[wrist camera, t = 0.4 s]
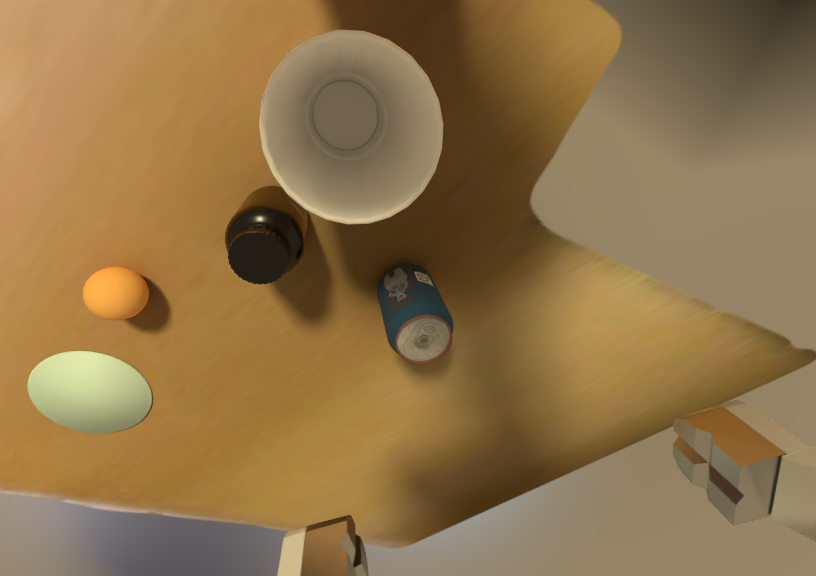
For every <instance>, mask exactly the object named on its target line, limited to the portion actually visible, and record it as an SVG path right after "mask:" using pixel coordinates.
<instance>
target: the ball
mask: <svg viewBox="0 0 816 576" xmlns="http://www.w3.org/2000/svg"><path fill="white" fill-rule="evenodd" d="M148 298H149V289H148V286H147V283H146V282H145V280H144V279H143V278H142V277H141V276H140V275H139V274H138V273H136V272H134V271H132V270H130V269H127V268H123V267H110V268H105V269H102V270H100V271H98V272H96V273H95V274H93V275H92V276H91V277H90V278H89V279H88V280H87V282H86V283H85V285H84V289H83V299H84V302H85V304H86V306H87V308H88V309H89V310H90V311H91V312H92V313H93V314H95V315H97V316H98V317H101V318H103V319H107V320H124V319H128V318H131V317H133V316H135V315H136V314H138V313H139V312H140V311H141V310H142V309H143V308H144V307H145V305H146V303H147V301H148Z"/></svg>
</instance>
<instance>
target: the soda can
mask: <svg viewBox="0 0 816 576" xmlns="http://www.w3.org/2000/svg"><path fill="white" fill-rule="evenodd" d="M378 299H379V303H380V307H381V312H382V316H383V320H384V325H385V329H386V333H387V338H388V341H389V344H390V346H391V347H392V348H393V350H394V351H396V352H397V353H398V354H399V355H400V356H401V357H402V358H403V359H404V360H406V361H408V362H410V363H414V364H426V363H430V362H433V361H435V360H437V359H439V358H441V357H442V356H443V355H444V354H445V353H446V352H447V350H448V349H449V347H450V345H451V342H452V333H453V320H452V317H451V315H450V313H449V311H448V309H447V307H446V305H445V303H444V301H443V300H442V298H441V296H440V294H439V292H438V290H437V288H436V286H435V284H434V282H433V280H432V278H431V276H430V275H429V273H428V272H427V271H426V270H424V269H423V268H421V267H419V266H416V265H410V264H406V265H400V266H397V267H394V268H392V269H391V270H389V271H388V272H387V273H386V274H385V275H384V276H383V277H382V279H381V281H380V283H379V286H378Z"/></svg>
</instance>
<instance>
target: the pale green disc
mask: <svg viewBox="0 0 816 576" xmlns="http://www.w3.org/2000/svg"><path fill="white" fill-rule="evenodd" d="M28 392H29V396H30V398H31V400H32V402H33V404H34V405H35V406H36V407H37V409H38V410H39V411H40V412H41V413H42V414H43V415H45V416H46V417H47V418H49V419H50V420H52V421H54V422H55V423H57V424H60V425H62V426H64V427H67V428H70V429H73V430H77V431H81V432H87V433H112V432H118V431H122V430H125V429H128V428H130V427H132V426H134V425H136V424H137V423H139V422H140V421H141V420H142V419H143V418H144V417H145V416H146V415H147V413H148V411H149V410H150V407H151V404H152V392H151V389H150V386H149V384H148V382H147V381H146V379H145V378H144V377H143V375H142V374H141V373H140V372H139V371H137V370H136V369H135V368H134V367H132V366H131V365H130V364H128V363H126V362H124V361H122V360H120V359H118V358H116V357H113V356H110V355H107V354H103V353H99V352H93V351H69V352H63V353H59V354H56V355H53V356H50V357H48V358H46V359H45V360H43V361H42V362H40V363H39V364H38V365H37V366H36V367H35V368H34V369H33V371H32V372H31V374H30V376H29V379H28Z"/></svg>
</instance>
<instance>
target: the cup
mask: <svg viewBox="0 0 816 576" xmlns="http://www.w3.org/2000/svg"><path fill="white" fill-rule="evenodd" d="M259 128H260V135H261V142H262V149H263V152H264V155H265V157H266V160H267V162H268V164H269V167H270V169H271V172H272V174H273V176H274V177H275V178H276V180H277V181H278V182H279V184H280V185H281V186H282V188H283V189H284V191H285V192H286V193H287V195H289V196H290V197H291V198H292V199H293V200H295V201H296V202H297V203H298V204H299V205H301V206H302V207H303V208H304V209H305V210H307V211H309V212H311V213H313V214H315V215H318V216H320V217H322V218H324V219H326V220H330V221H335V222H339V223H344V224H369V223H373V222H376V221H379V220H383V219H386V218H390V217H391V216H393V215H395V214H396V213H398V212H400V211H401V210H403V209H405V208H406V207H408V206H409V205H410V204H411V203H412V202H413V201H414V200H415V199H416V198H417V197H418V196H419V195H420V194H421V193H422V192H423V191H424V189H425V188H426V186H427V184H428V183H429V181H430V179H431V178H432V176H433V174H434V173H435V170H436V167H437V164H438V161H439V157H440V154H441V151H442V140H443V120H442V115H441V109H440V104H439V99H438V97H437V95H436V93H435V91H434V88H433V86H432V84H431V82H430V80H429V77H428V76H427V74H426V73H425V72H424V71H423V69H422V68H421V67H420V66H419V65H418V63H417V62H416V61H415V60H414V58H413V57H412V56H411V55H410V54H408V53H407V52H406V51H404V50H403V49H401V48H400V47H399V46H397V45H396V44H395V43H393V42H392V41H390V40H389V39H386V38H383V37H380V36H377V35H374V34H372V33H369V32H366V31H356V30H335V31H331V32H327V33H324V34H320V35H317V36H313V37H311V38H309V39H308V40H306V41H305V42H303V43H302V44H300V45H299V46H297V47H296V48H294V49H293V50H291V51H289V53H288V54H287V55H286V56H285V58H284V59H283V60H282V61H281V62H280V64H279V65H278V66H277V67H276V69H275V70H274V71H273V72H272V75H271V77H270V79H269V82H268V84H267V87H266V89H265V92H264V94H263V96H262V102H261V111H260V119H259Z"/></svg>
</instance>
